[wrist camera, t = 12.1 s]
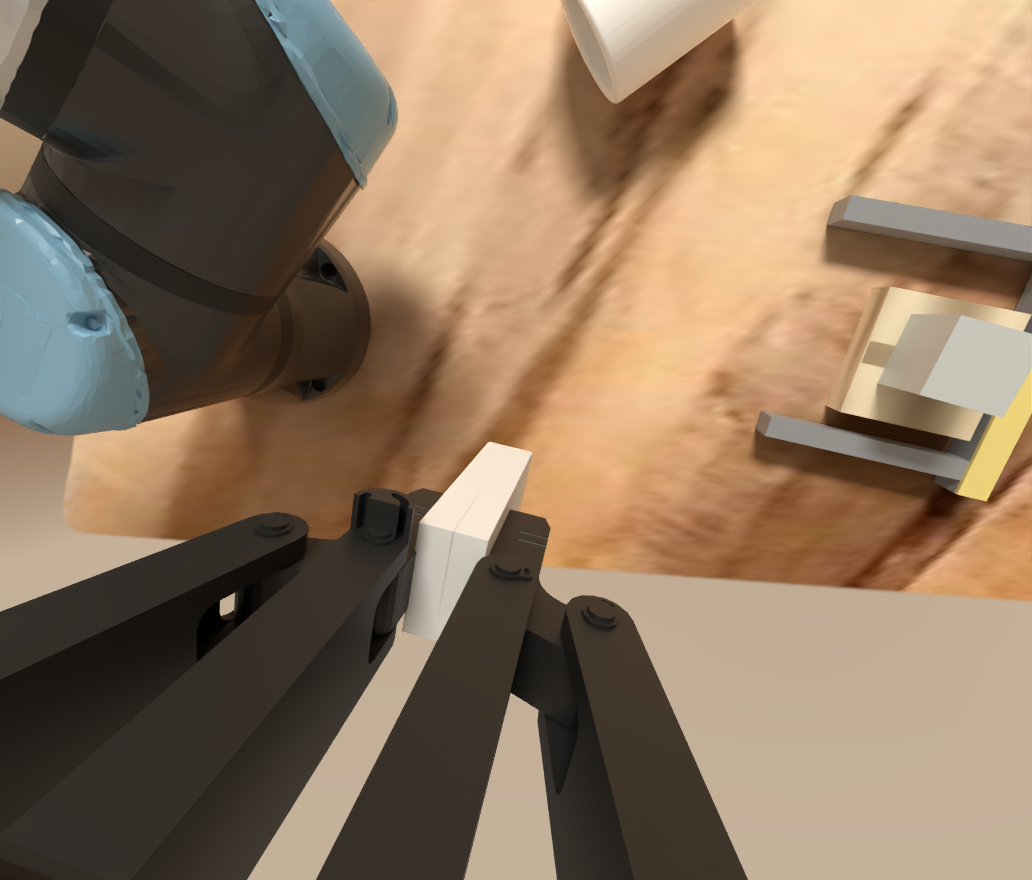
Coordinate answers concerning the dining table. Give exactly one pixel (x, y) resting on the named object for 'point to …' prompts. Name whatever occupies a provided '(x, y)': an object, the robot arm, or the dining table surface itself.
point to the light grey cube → (960, 362)
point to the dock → (988, 450)
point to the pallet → (874, 348)
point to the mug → (641, 36)
